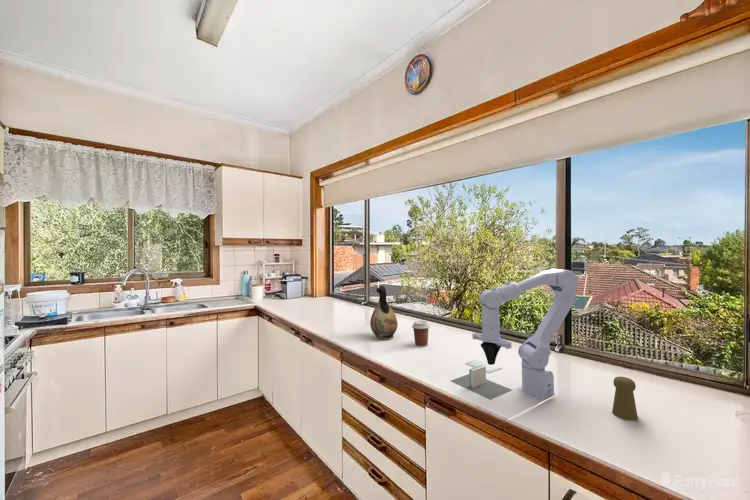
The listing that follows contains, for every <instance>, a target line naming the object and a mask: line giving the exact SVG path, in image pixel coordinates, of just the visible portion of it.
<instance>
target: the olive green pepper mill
mask: <svg viewBox="0 0 750 500" xmlns="http://www.w3.org/2000/svg"><path fill="white" fill-rule="evenodd" d="M613 386H614V388H615V392H614V396H613V397H614V398H613V404H612V411H611V412H612V415H614V416H615V417H617V418H619V419H622V420H625V421H631V422H632V421H634V422H635V421H637V420H638V419H639V417H638V413H637V412H638V411H637V406H636V399H635V395H634V391H636V388H637V387H636V382H635V381H634V380H633V379H632V378H630V377H628V376H627V377H626V376H615V377H614V378H613Z"/></svg>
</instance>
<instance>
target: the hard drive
mask: <svg viewBox="0 0 750 500" xmlns="http://www.w3.org/2000/svg"><path fill="white" fill-rule="evenodd" d="M465 365H468V366H470V367H473V368H475V367H478V366H481V365H483V366H486V373H488V374H491V373H493V372H497V371H500V370H502V369H503V367H501V366H498V365H495V364H493V365H489V364H488V362H487V361H485V360H482V359H479V358H476V359H473V360H469V361H467V362H465Z"/></svg>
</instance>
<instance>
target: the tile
mask: <svg viewBox="0 0 750 500" xmlns="http://www.w3.org/2000/svg"><path fill="white" fill-rule="evenodd" d="M468 371H469V373H468V374H469V379H470V386H471V387H476V386H478V385H481V384H484V383H486V379H487V377H486V376H487V374H486V373H487V372H486V366H483V365H481V366H478V367H473V368H470V369H469V370H468Z"/></svg>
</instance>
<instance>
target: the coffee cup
mask: <svg viewBox="0 0 750 500" xmlns="http://www.w3.org/2000/svg"><path fill="white" fill-rule="evenodd" d="M430 327H431V326H430V324H429V323H428V321H426V320H415V321H414V322H413V324H412V327H411V328H412V329H413V338H414V346H415V347H417V348H426V347H428V346H429V345H428V342H429V329H430Z"/></svg>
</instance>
